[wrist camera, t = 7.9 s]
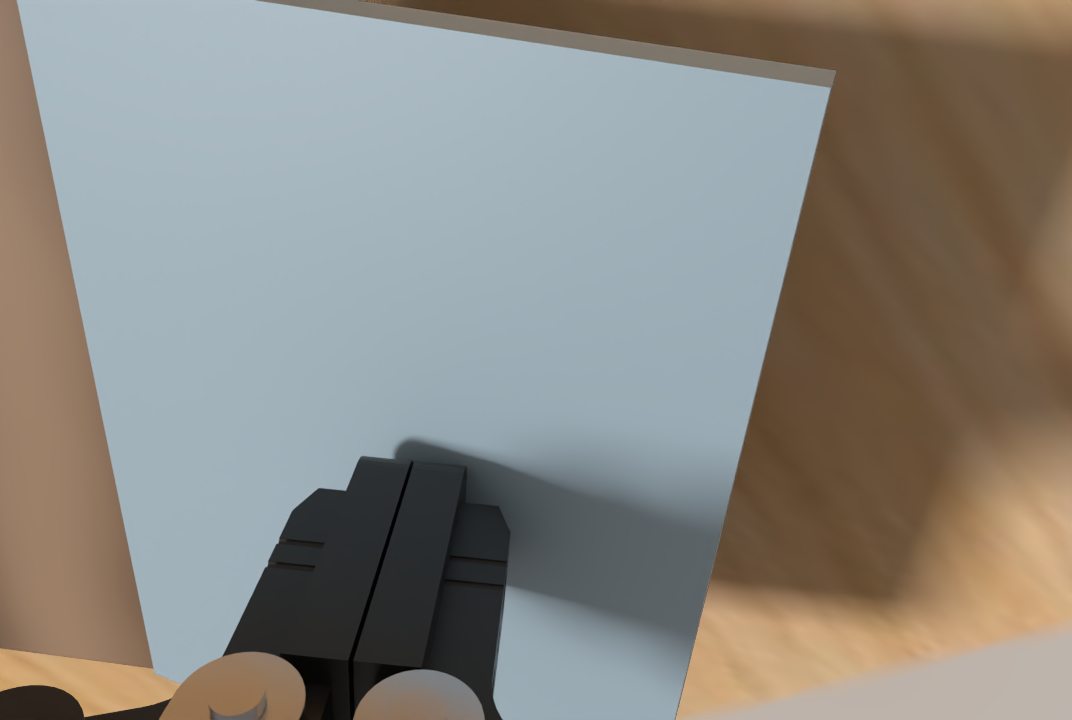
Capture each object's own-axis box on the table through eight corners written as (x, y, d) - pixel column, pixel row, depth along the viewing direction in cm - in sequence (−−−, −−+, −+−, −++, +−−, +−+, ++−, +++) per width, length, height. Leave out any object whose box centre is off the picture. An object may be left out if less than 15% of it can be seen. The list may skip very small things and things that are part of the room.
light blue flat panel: (154, 673, 17) (636, 870, 15) (8, -38, 11) (830, 87, 8) (213, 611, 19) (660, 780, 16) (116, -45, 12) (840, 58, 10)
